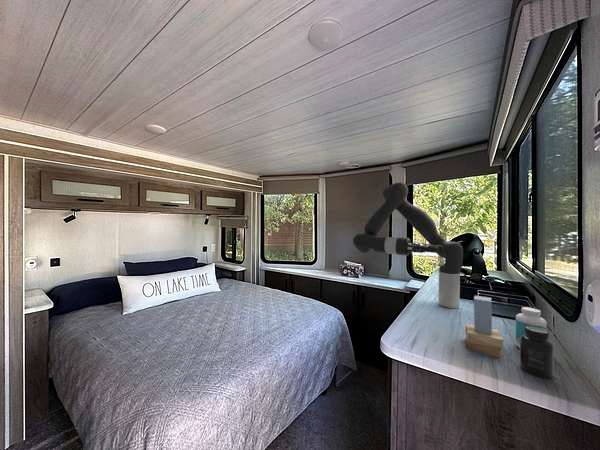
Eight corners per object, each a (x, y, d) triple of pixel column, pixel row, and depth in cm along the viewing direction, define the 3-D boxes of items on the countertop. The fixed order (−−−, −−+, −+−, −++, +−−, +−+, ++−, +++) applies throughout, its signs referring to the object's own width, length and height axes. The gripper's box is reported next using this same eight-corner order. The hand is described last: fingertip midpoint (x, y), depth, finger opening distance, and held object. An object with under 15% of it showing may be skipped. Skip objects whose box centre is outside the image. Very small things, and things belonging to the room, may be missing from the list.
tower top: (465, 331, 86) (465, 323, 86) (496, 338, 81) (496, 329, 81) (467, 341, 78) (468, 332, 78) (502, 349, 74) (503, 340, 74)
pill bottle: (549, 358, 74) (550, 315, 74) (517, 350, 78) (518, 310, 78) (542, 347, 80) (543, 308, 80) (513, 341, 84) (514, 304, 84)
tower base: (467, 339, 86) (467, 331, 86) (499, 348, 80) (499, 339, 80) (465, 349, 79) (465, 340, 79) (500, 359, 73) (500, 349, 73)
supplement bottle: (560, 377, 64) (561, 334, 64) (540, 380, 63) (541, 335, 63) (531, 363, 71) (532, 323, 71) (513, 364, 70) (514, 324, 70)
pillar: (475, 326, 83) (474, 295, 83) (491, 329, 80) (491, 297, 80) (474, 331, 80) (473, 298, 79) (491, 334, 77) (490, 301, 77)
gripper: (392, 237, 96) (437, 240, 86) (402, 236, 107) (443, 239, 97) (391, 256, 96) (436, 260, 86) (402, 253, 107) (443, 257, 97)
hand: (440, 249), depth 91 cm, fingers open, 8 cm apart
